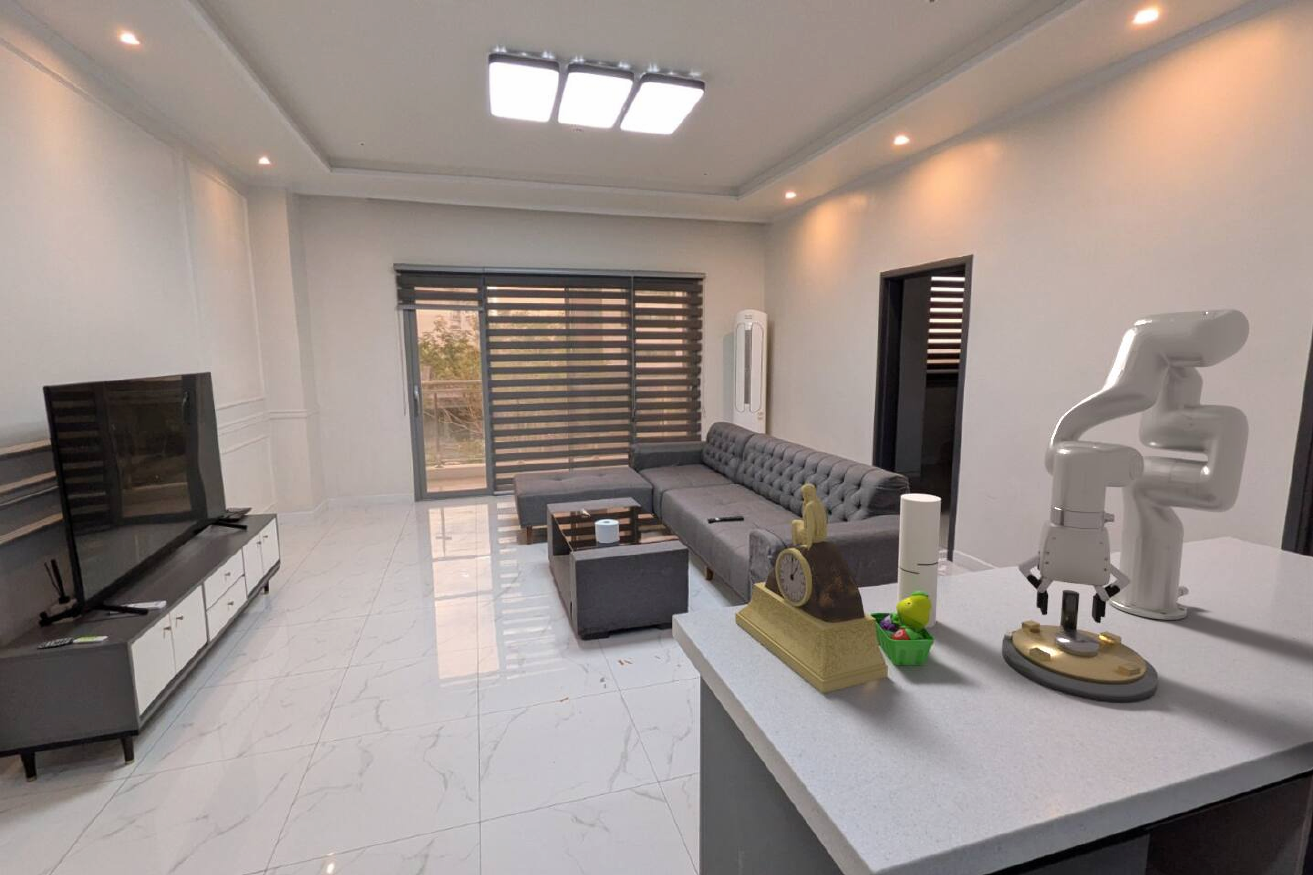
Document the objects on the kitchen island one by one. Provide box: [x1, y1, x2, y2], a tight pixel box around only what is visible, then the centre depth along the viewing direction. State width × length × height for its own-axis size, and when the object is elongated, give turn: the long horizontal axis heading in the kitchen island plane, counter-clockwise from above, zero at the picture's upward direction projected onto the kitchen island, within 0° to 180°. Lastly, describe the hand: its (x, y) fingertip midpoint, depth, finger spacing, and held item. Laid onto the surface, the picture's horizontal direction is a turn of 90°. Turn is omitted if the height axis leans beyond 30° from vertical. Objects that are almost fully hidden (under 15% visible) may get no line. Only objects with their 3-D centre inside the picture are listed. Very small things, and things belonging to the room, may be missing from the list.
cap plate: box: [1001, 630, 1159, 704], centre depth 98 cm, size 21×21×3 cm
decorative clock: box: [734, 483, 889, 694], centre depth 105 cm, size 28×13×30 cm, turn 21°
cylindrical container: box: [896, 493, 942, 629], centre depth 116 cm, size 7×7×25 cm
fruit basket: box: [869, 591, 935, 666], centre depth 103 cm, size 11×9×11 cm
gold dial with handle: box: [1013, 589, 1146, 684], centre depth 97 cm, size 18×18×8 cm
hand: (1069, 615), depth 103 cm, fingers open, 7 cm apart
